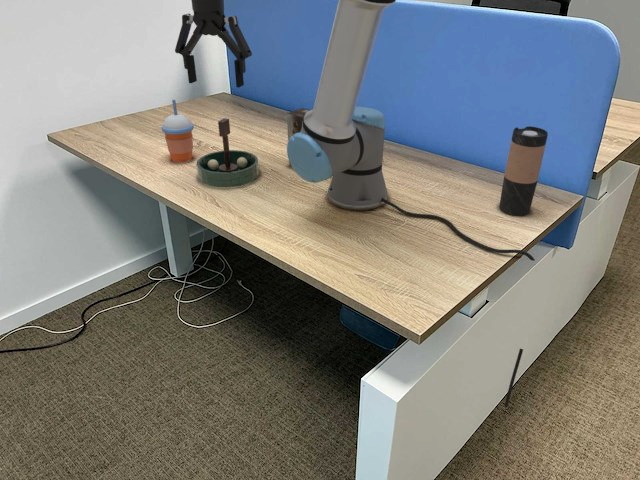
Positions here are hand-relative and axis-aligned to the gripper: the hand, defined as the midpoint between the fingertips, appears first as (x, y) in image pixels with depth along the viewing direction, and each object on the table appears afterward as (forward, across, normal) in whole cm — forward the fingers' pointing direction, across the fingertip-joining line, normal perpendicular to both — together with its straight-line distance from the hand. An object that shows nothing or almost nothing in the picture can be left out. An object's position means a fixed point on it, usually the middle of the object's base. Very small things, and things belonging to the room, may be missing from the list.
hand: (216, 84), depth 134 cm
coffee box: (+26, -20, -13) cm, 35 cm away
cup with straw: (+26, +18, -6) cm, 32 cm away
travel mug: (+26, -77, -4) cm, 82 cm away
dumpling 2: (+25, -3, -5) cm, 26 cm away
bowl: (+25, -1, 0) cm, 25 cm away
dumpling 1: (+25, +4, -1) cm, 25 cm away
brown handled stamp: (+25, -1, 0) cm, 25 cm away
